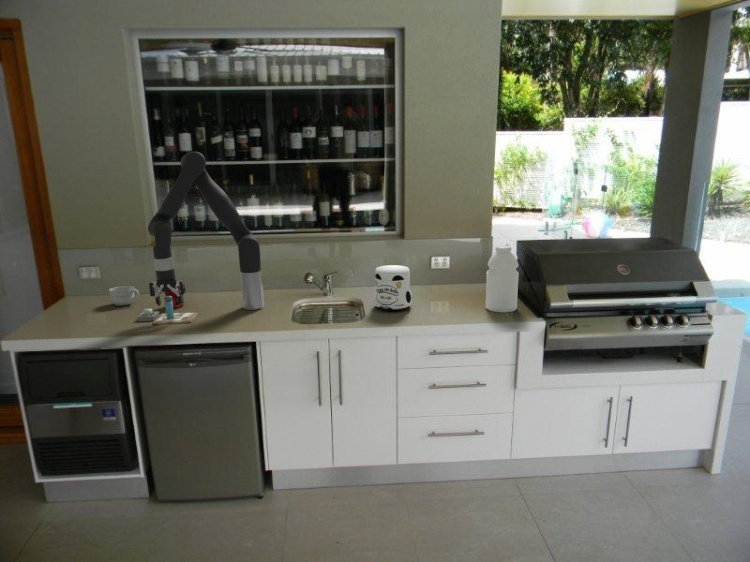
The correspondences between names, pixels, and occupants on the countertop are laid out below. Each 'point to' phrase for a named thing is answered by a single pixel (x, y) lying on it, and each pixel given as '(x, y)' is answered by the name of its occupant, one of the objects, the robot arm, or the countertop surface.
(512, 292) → the bottle
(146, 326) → the countertop surface
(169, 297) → the marker
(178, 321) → the board
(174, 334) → the countertop surface
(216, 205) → the robot arm
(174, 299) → the canned food
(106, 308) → the countertop surface
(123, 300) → the teacup
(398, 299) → the milk container
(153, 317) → the button housing
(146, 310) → the mint green capsule
